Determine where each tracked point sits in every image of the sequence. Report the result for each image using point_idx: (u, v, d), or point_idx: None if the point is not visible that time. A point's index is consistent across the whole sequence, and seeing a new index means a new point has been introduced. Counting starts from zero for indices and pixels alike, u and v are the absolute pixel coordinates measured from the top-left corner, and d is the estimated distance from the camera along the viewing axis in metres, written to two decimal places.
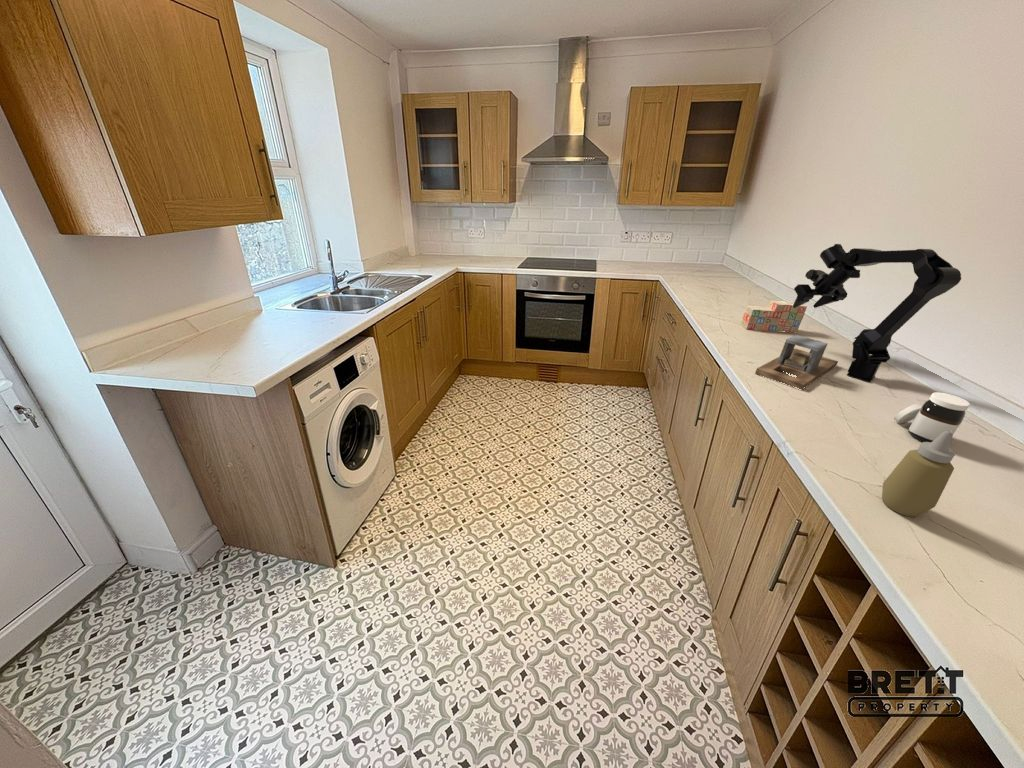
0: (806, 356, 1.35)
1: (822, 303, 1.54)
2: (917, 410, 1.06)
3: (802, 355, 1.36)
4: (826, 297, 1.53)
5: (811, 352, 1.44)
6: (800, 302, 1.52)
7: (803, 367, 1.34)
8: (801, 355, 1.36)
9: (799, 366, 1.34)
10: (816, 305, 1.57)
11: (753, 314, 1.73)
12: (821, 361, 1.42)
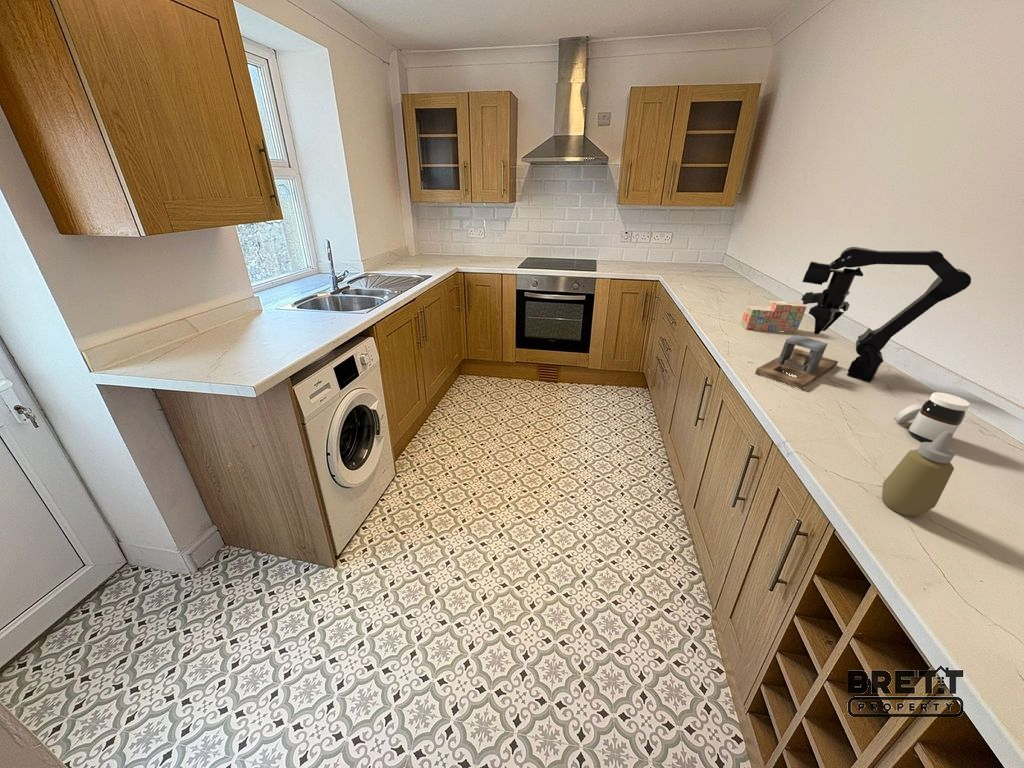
0: (806, 356, 1.35)
1: (831, 322, 1.39)
2: (917, 410, 1.06)
3: (802, 355, 1.36)
4: None
5: (811, 352, 1.44)
6: (824, 323, 1.33)
7: (803, 367, 1.34)
8: (801, 355, 1.36)
9: (799, 366, 1.34)
10: (825, 327, 1.40)
11: (752, 314, 1.73)
12: (821, 361, 1.42)
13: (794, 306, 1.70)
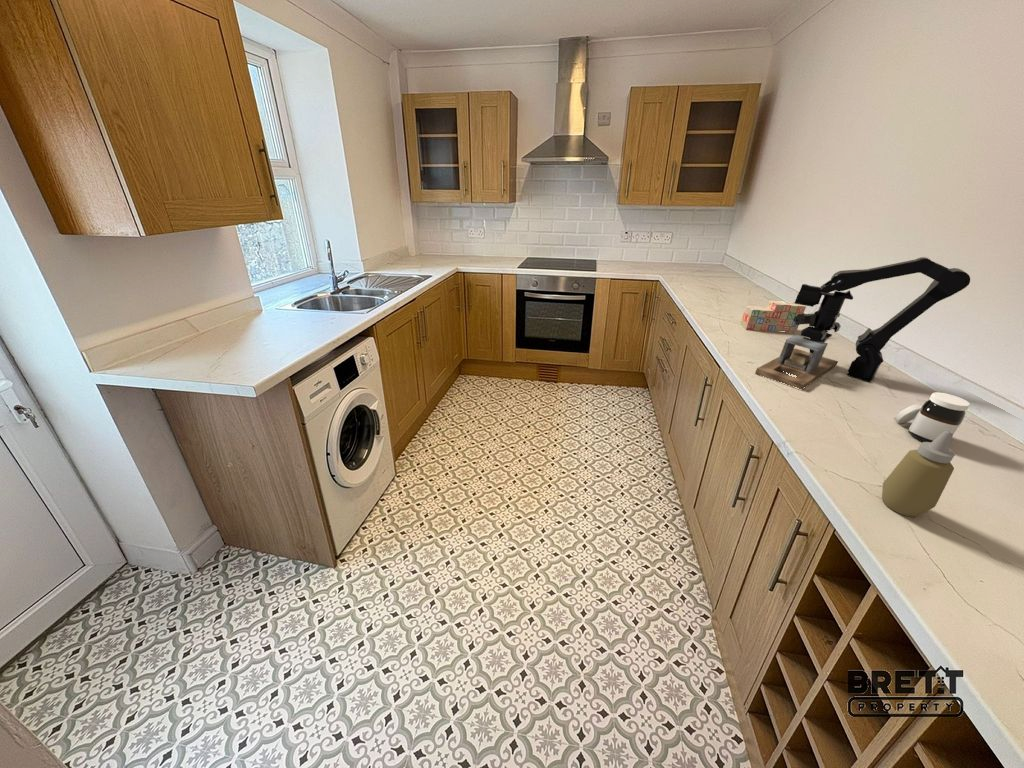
0: (806, 356, 1.35)
1: None
2: (917, 410, 1.06)
3: (802, 355, 1.36)
4: None
5: None
6: None
7: (803, 367, 1.34)
8: (801, 355, 1.36)
9: (799, 366, 1.34)
10: None
11: (752, 314, 1.73)
12: (821, 361, 1.42)
13: (794, 306, 1.70)
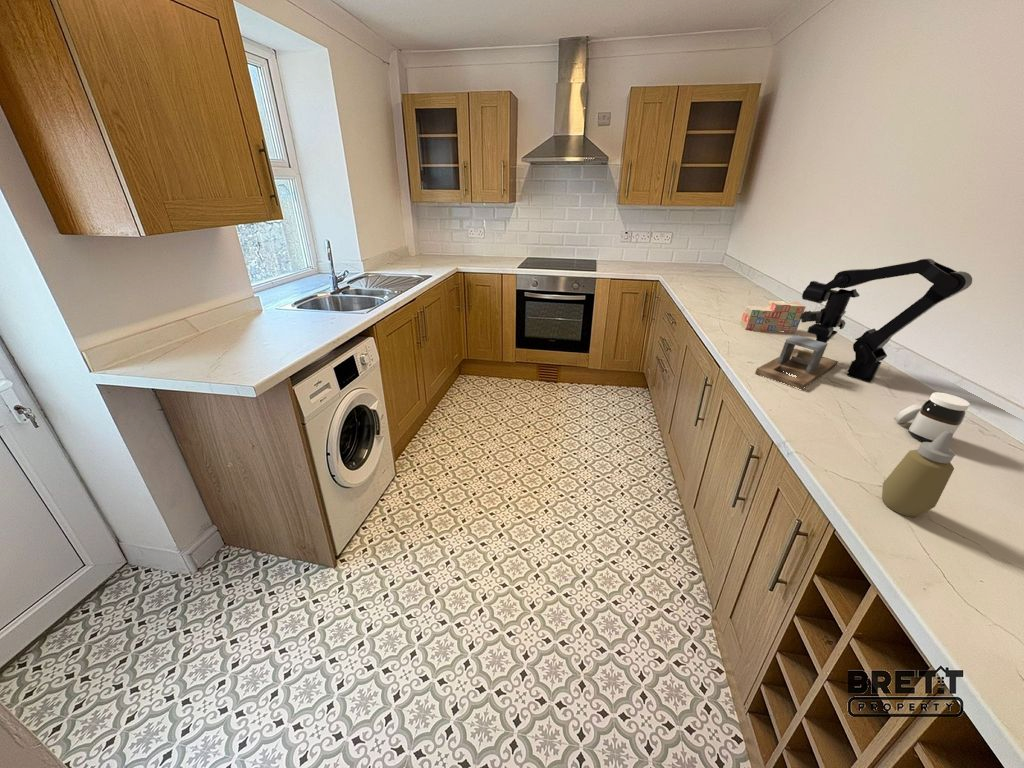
0: (812, 353, 1.38)
1: None
2: (917, 410, 1.06)
3: (808, 352, 1.39)
4: None
5: None
6: (825, 339, 1.42)
7: None
8: (807, 351, 1.39)
9: (806, 362, 1.38)
10: None
11: (752, 314, 1.73)
12: (821, 361, 1.42)
13: (793, 306, 1.70)
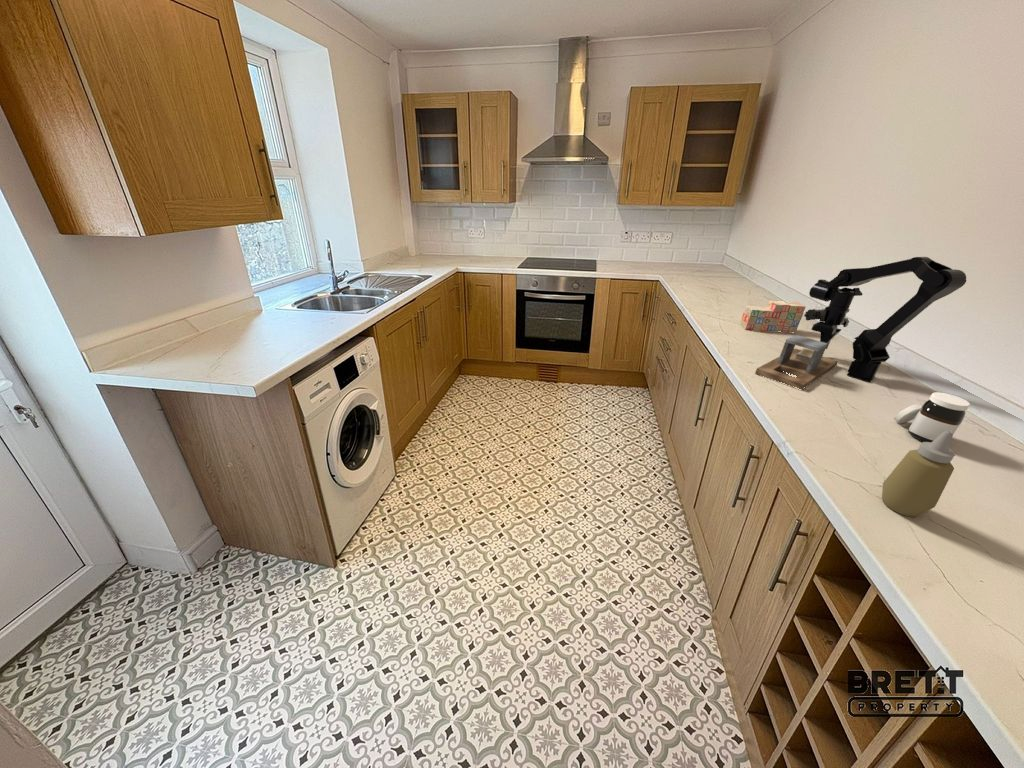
0: None
1: None
2: (917, 410, 1.06)
3: None
4: None
5: None
6: (829, 337, 1.44)
7: None
8: None
9: None
10: None
11: (752, 314, 1.73)
12: (821, 361, 1.42)
13: (793, 306, 1.70)
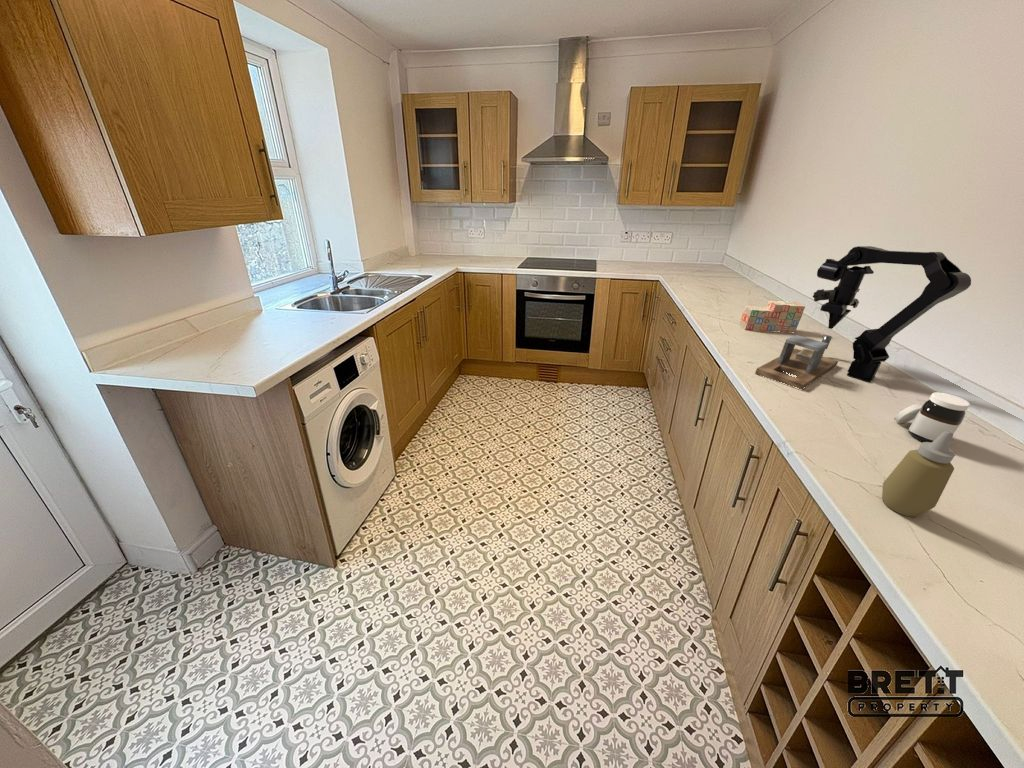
0: None
1: None
2: (917, 410, 1.06)
3: None
4: None
5: None
6: (838, 318, 1.40)
7: None
8: None
9: None
10: None
11: (751, 314, 1.73)
12: (821, 361, 1.42)
13: (793, 306, 1.70)
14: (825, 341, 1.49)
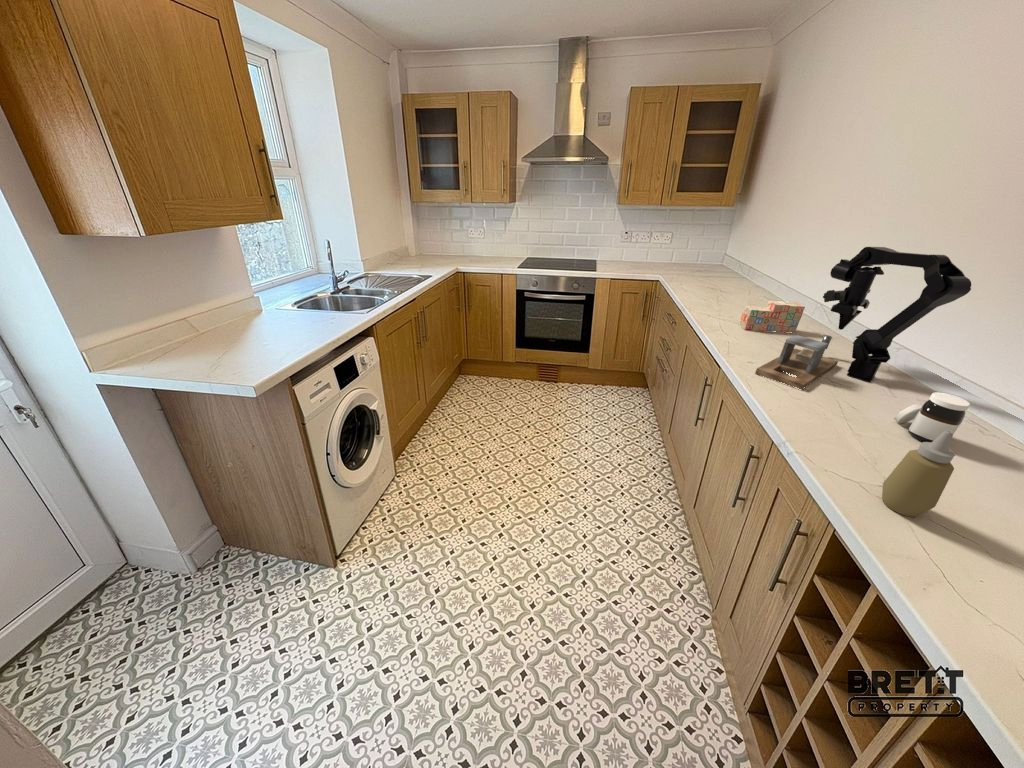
0: None
1: None
2: (917, 410, 1.06)
3: None
4: None
5: None
6: (849, 319, 1.39)
7: None
8: None
9: None
10: None
11: (751, 314, 1.72)
12: (821, 361, 1.42)
13: (792, 306, 1.69)
14: (825, 341, 1.49)
